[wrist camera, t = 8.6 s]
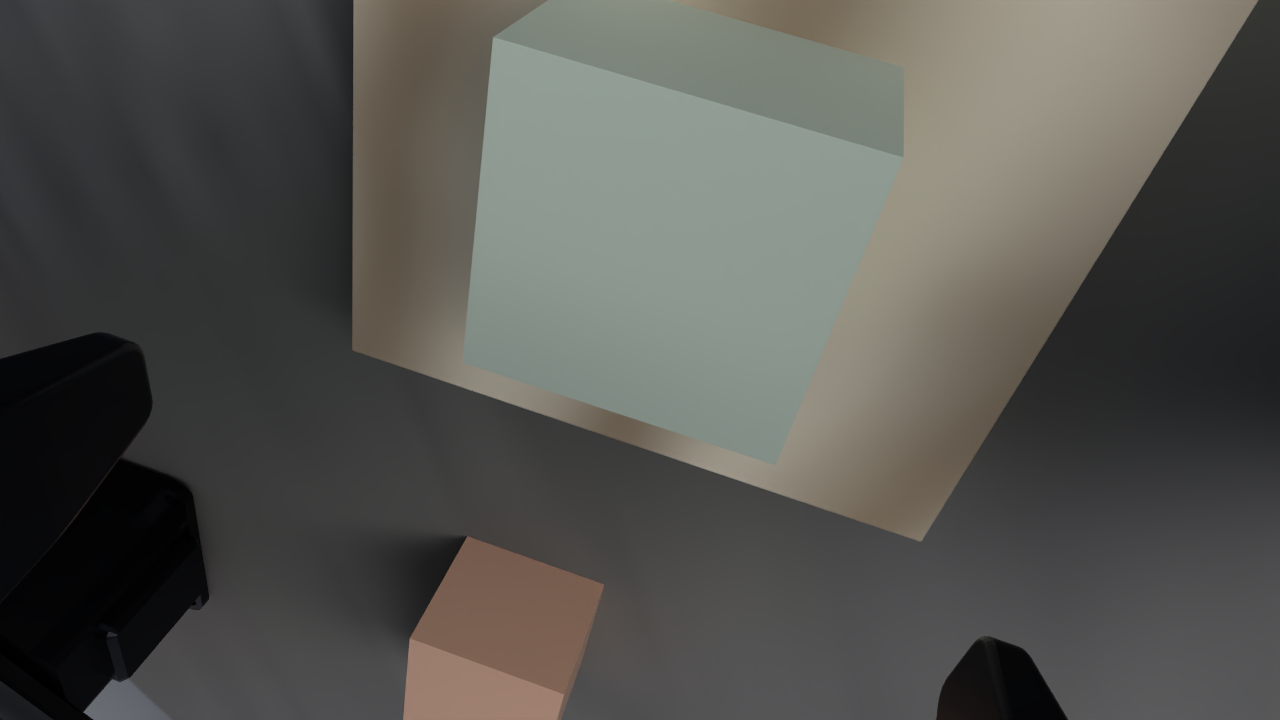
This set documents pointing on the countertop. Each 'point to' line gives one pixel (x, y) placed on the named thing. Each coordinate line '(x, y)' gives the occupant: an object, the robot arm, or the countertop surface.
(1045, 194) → the birch plinth
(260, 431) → the countertop surface
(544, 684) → the terracotta cube
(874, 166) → the sage block
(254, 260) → the countertop surface
